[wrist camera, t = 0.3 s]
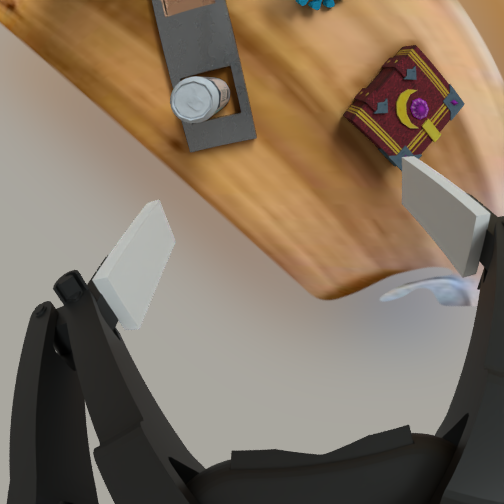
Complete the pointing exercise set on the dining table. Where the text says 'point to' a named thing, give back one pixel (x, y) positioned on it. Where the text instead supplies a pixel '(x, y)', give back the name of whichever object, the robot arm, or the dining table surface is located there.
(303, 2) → the gear
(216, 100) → the beer can
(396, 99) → the decorative book
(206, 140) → the rail
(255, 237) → the dining table surface
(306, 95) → the dining table surface
